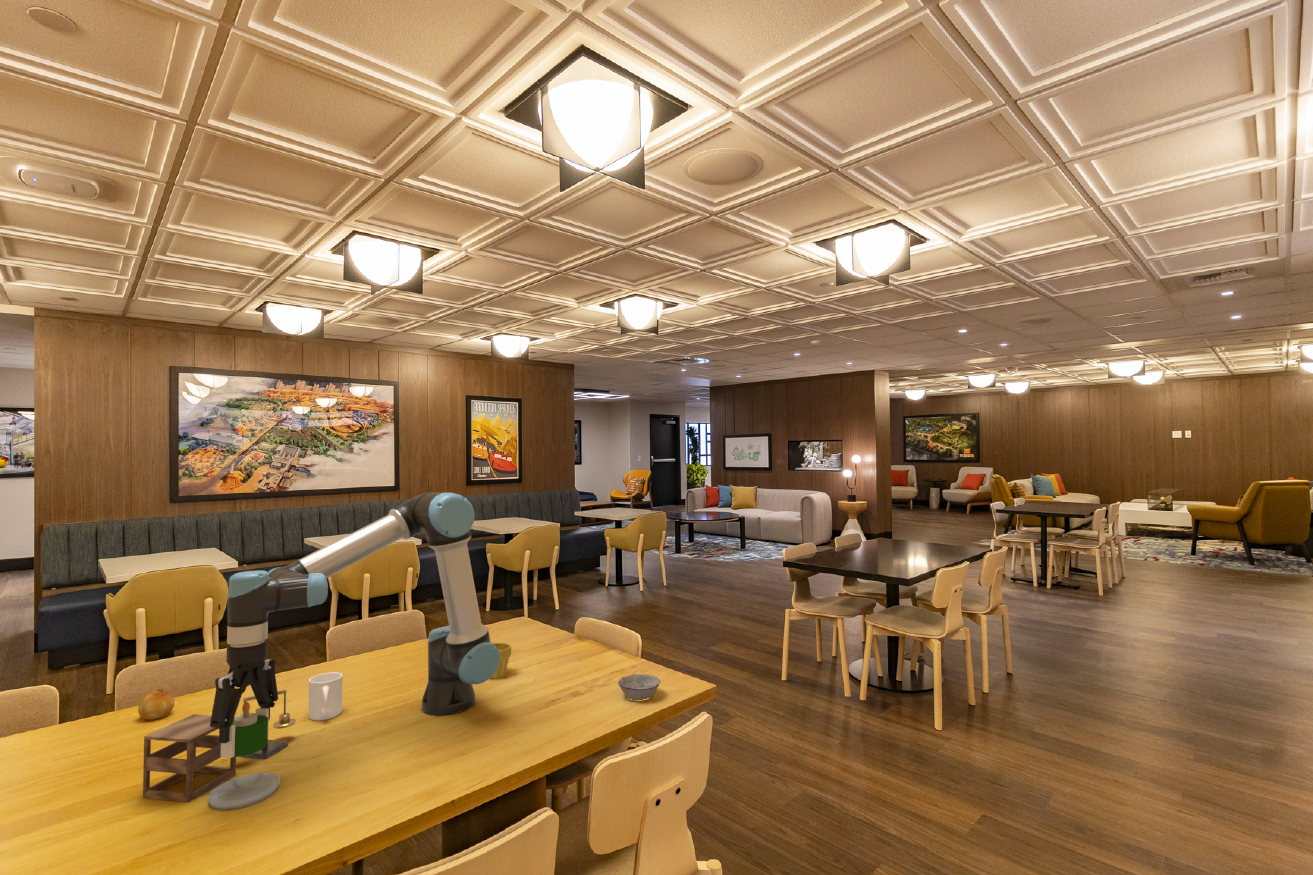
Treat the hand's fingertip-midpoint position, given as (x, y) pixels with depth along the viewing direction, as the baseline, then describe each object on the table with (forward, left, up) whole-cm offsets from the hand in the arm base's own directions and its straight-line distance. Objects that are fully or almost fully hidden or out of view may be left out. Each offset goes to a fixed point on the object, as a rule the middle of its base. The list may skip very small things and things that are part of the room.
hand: (245, 746), depth 134 cm
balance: (+11, -18, -10) cm, 24 cm away
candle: (0, 0, -1) cm, 1 cm away
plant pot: (-23, -78, -10) cm, 82 cm away
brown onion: (+60, -32, -10) cm, 69 cm away
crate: (+15, -1, -10) cm, 18 cm away
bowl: (-75, -67, -10) cm, 101 cm away
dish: (0, 0, -10) cm, 10 cm away
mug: (+11, -39, -10) cm, 42 cm away
